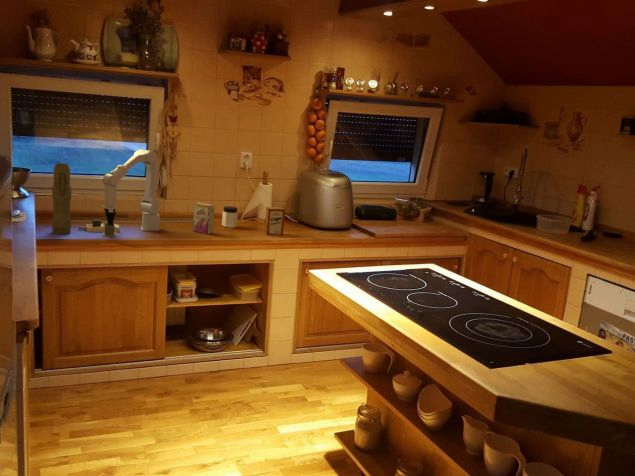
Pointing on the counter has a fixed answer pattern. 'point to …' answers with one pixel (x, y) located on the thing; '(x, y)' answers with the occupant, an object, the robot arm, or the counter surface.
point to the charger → (109, 229)
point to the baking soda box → (274, 220)
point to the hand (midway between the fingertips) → (110, 223)
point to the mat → (109, 235)
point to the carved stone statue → (61, 199)
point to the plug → (96, 222)
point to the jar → (229, 216)
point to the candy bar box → (203, 218)
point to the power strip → (98, 228)
